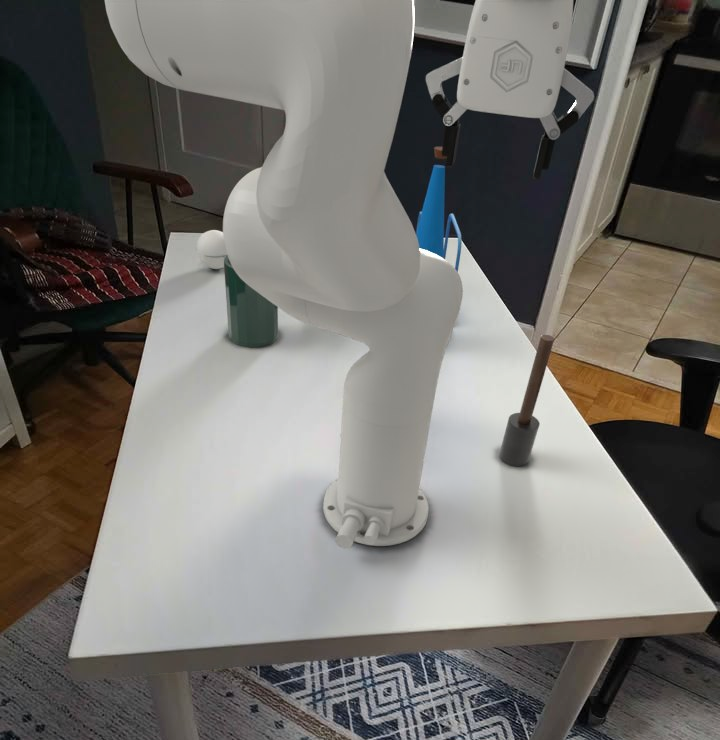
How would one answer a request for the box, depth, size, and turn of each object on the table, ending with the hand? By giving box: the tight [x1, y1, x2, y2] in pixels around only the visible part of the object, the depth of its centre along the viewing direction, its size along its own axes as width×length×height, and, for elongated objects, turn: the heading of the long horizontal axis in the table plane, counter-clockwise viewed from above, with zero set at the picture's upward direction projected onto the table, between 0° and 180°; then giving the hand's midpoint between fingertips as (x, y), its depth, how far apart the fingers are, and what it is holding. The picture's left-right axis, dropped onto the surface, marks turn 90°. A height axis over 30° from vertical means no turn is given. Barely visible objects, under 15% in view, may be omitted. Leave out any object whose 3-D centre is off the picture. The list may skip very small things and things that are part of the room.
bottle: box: [415, 146, 447, 258], centre depth 103 cm, size 7×7×30 cm
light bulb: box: [195, 229, 227, 270], centre depth 128 cm, size 10×7×7 cm
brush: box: [498, 334, 555, 467], centre depth 82 cm, size 4×4×18 cm
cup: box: [223, 255, 279, 348], centre depth 105 cm, size 8×8×13 cm
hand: (493, 170), depth 72 cm, fingers open, 9 cm apart
